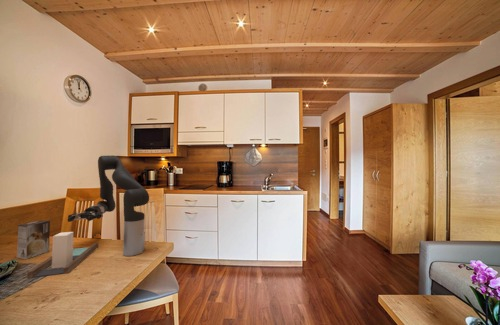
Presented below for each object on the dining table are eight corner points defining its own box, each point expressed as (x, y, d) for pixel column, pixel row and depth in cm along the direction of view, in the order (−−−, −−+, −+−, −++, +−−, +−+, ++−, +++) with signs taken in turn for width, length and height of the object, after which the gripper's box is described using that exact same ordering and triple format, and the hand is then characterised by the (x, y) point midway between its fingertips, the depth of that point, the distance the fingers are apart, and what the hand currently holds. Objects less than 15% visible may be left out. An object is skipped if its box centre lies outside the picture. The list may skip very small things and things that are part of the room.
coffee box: (40, 250, 101) (41, 219, 102) (49, 251, 100) (50, 220, 100) (16, 258, 92) (17, 224, 93) (25, 259, 91) (27, 225, 91)
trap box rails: (98, 247, 106) (98, 242, 106) (68, 273, 80) (68, 267, 80) (68, 249, 102) (68, 245, 102) (27, 278, 76) (27, 271, 76)
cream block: (72, 261, 90) (73, 231, 90) (65, 266, 85) (67, 235, 85) (59, 263, 88) (60, 232, 89) (51, 268, 84) (52, 236, 84)
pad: (94, 247, 105) (94, 246, 105) (85, 255, 96) (85, 254, 96) (72, 249, 102) (72, 248, 102) (61, 257, 93) (61, 256, 93)
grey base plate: (84, 255, 96) (84, 254, 96) (63, 273, 80) (63, 272, 80) (60, 258, 93) (60, 257, 93) (32, 277, 77) (32, 276, 77)
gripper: (80, 206, 113) (62, 212, 97) (108, 205, 117) (95, 211, 101) (79, 218, 112) (61, 227, 97) (107, 217, 117) (95, 225, 101)
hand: (79, 219), depth 99 cm, fingers open, 8 cm apart
